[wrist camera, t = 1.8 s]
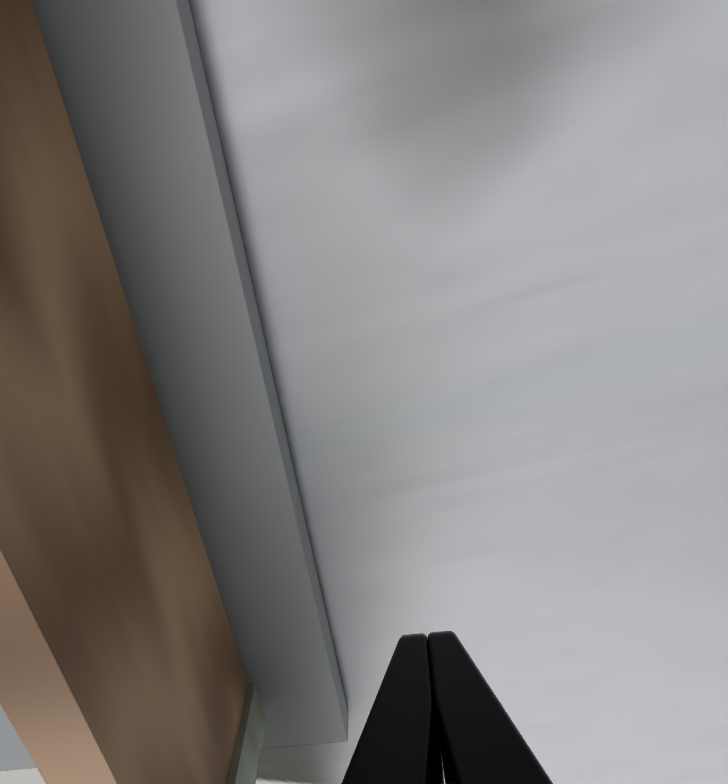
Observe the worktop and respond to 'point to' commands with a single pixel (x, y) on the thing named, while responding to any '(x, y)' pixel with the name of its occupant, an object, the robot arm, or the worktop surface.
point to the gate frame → (198, 341)
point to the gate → (95, 491)
